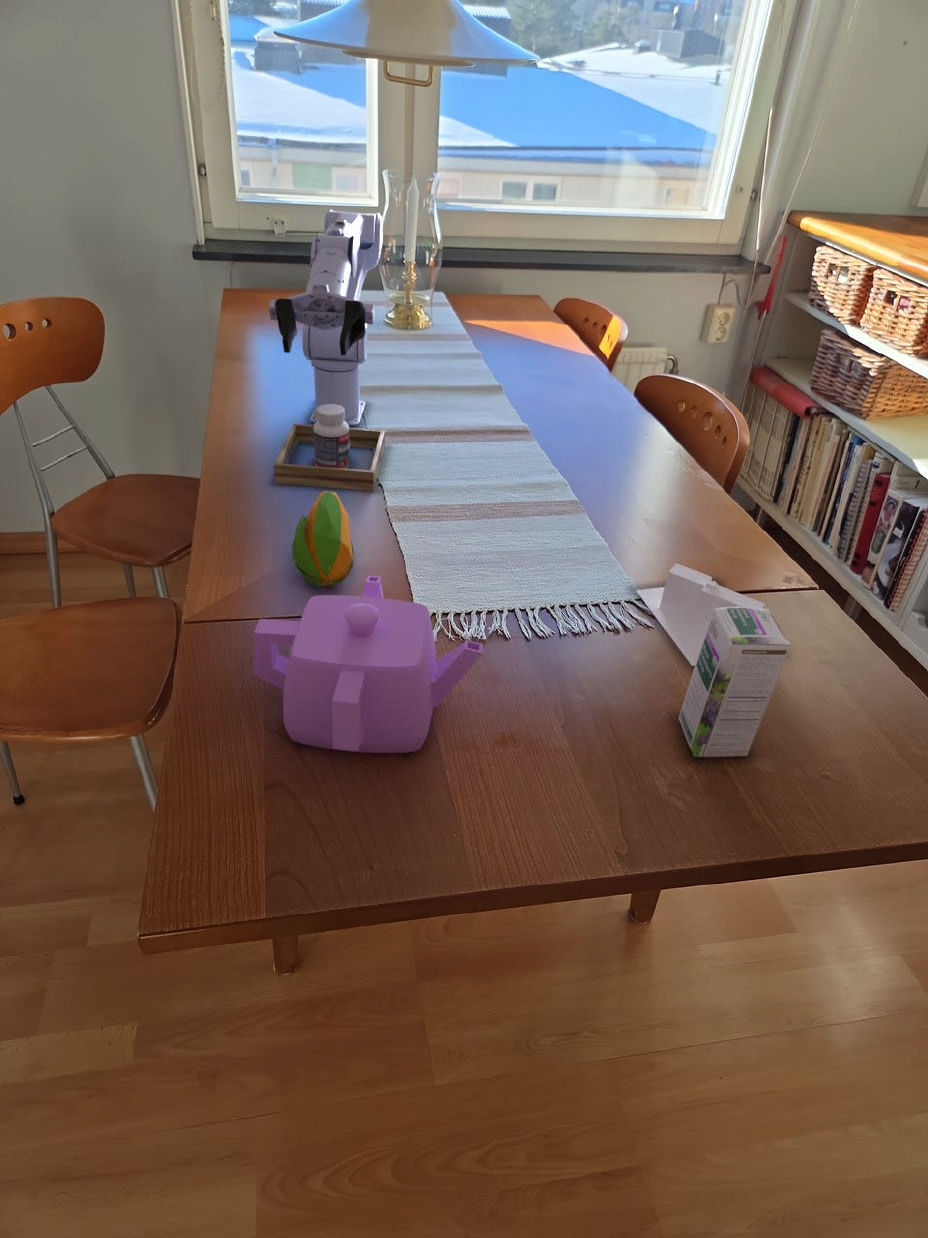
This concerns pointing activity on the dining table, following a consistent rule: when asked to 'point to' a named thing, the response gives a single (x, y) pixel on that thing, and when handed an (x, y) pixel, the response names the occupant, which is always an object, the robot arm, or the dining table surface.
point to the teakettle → (359, 671)
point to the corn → (324, 542)
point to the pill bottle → (331, 437)
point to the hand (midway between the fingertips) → (314, 347)
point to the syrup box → (732, 681)
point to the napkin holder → (690, 606)
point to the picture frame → (327, 474)
